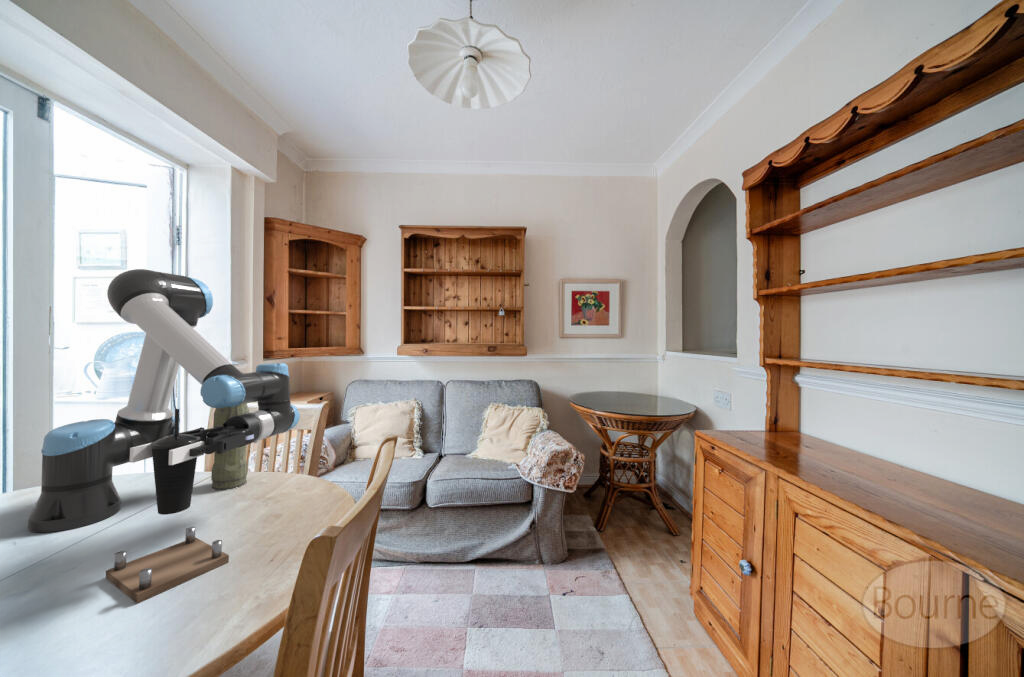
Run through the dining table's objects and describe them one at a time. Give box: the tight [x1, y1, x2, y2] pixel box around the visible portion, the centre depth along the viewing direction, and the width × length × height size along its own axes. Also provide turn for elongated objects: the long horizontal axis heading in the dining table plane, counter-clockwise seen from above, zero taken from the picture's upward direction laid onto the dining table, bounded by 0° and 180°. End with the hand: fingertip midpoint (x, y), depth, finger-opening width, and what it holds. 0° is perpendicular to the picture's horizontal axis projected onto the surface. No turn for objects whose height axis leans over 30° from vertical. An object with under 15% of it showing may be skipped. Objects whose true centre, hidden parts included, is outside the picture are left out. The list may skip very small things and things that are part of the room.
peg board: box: [105, 525, 230, 605], centre depth 74 cm, size 14×14×4 cm
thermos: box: [210, 371, 250, 491], centre depth 117 cm, size 9×12×35 cm
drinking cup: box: [150, 408, 201, 515], centre depth 75 cm, size 8×8×20 cm
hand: (151, 456), depth 70 cm, fingers closed on drinking cup, 7 cm apart
